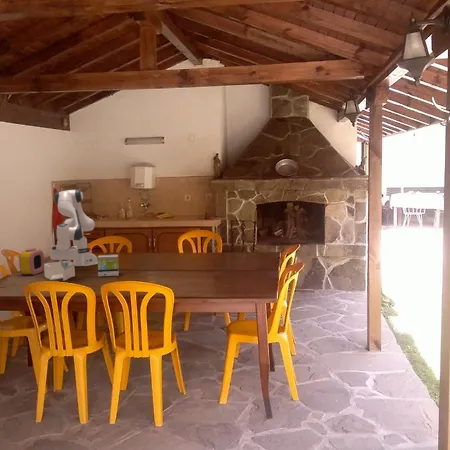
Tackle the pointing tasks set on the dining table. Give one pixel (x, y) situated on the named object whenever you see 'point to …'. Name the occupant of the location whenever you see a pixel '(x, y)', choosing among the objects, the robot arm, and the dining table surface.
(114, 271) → the tea box
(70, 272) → the lid flap
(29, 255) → the alarm clock
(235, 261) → the dining table surface
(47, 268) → the carton
